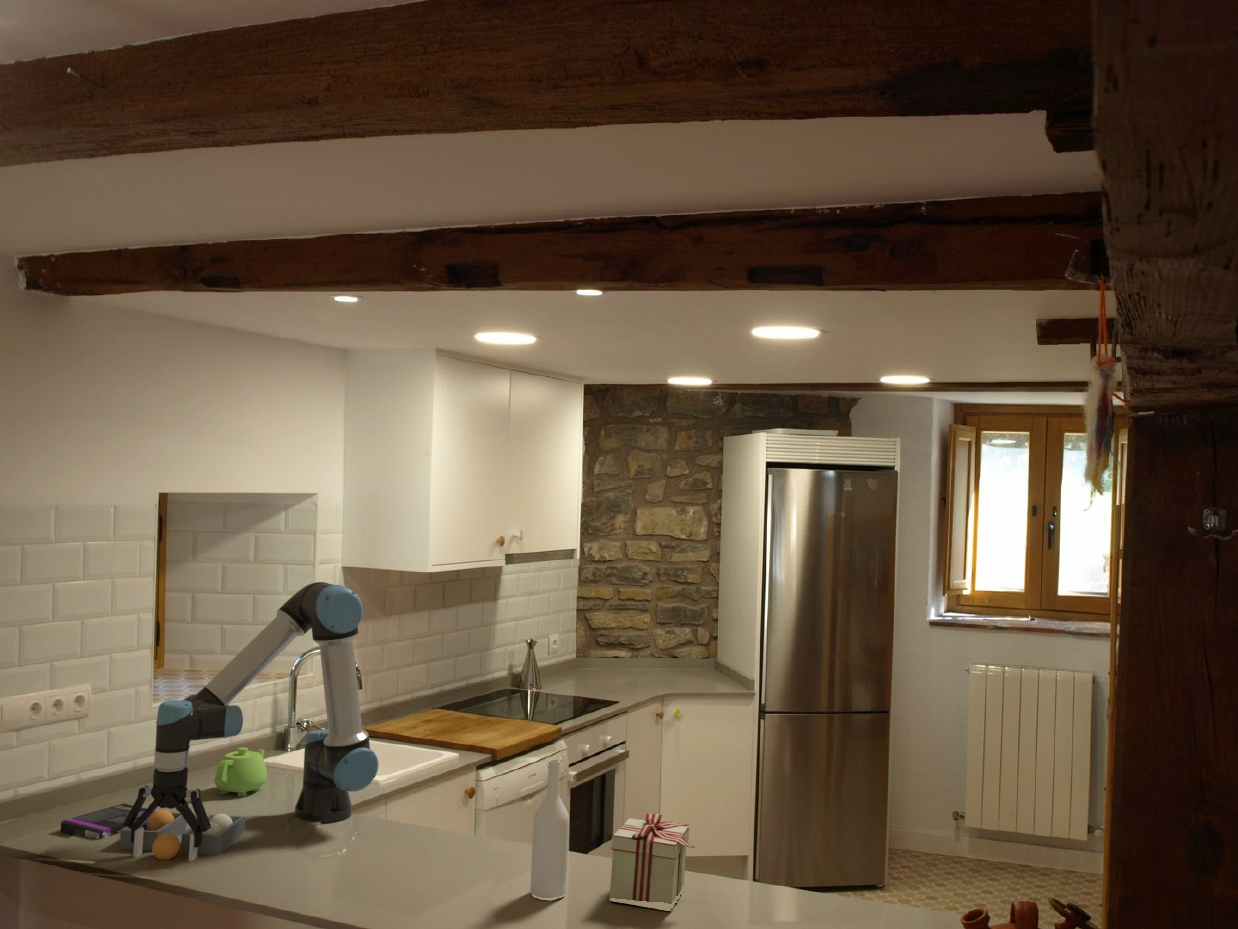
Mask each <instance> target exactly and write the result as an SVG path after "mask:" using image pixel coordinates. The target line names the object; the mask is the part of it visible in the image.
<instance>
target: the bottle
mask: <svg viewBox="0 0 1238 929" xmlns="http://www.w3.org/2000/svg"><path fill="white" fill-rule="evenodd" d="M547 767H548V768H547V786H546V794H545V795H546V796H545V797H544V798H543V801H542V802H541V803H540V805H539V806H538V807H537V809H536V811H535V813H534V816H533V824H532V825H533V826H532V828H533V829H532V844H531V847H532V848H531V864H530V865H531V868H530V889H529V894H530V893H531V894H532V895H535V896H537V897H541V898H553V897H559V896H562V895H564V894H565V893H567V876H568V875H567V874H568V858H569V857H568V856H569V855H568V853H569V837H570V834H569V833H570V815H569V812H568V811H567V808H566V806H565V805H564V803H563V801H562V799H561V797H560V772H561V761H560V760H559V759H550V760H548V766H547Z"/></svg>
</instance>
